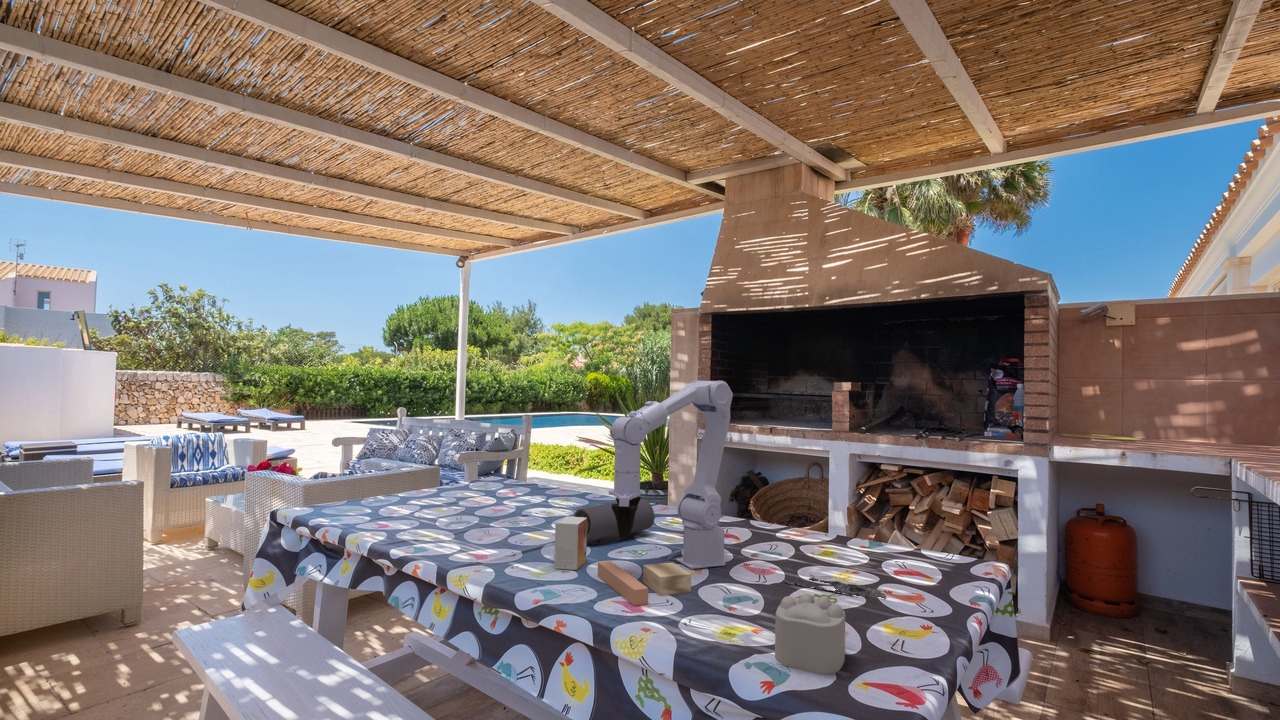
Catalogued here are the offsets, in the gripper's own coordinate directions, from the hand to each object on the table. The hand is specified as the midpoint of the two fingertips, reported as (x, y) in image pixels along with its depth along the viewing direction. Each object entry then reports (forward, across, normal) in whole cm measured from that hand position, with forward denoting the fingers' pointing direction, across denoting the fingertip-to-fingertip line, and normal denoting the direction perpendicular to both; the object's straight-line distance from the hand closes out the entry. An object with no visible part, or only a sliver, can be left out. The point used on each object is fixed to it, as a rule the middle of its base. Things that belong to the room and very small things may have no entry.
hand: (626, 533), depth 140 cm
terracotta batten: (+10, +8, 0) cm, 12 cm away
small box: (+10, -8, -13) cm, 18 cm away
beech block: (+10, +5, +9) cm, 15 cm away
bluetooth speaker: (+10, -34, -6) cm, 36 cm away
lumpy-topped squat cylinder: (+10, +36, +33) cm, 50 cm away
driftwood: (+11, +1, +45) cm, 47 cm away
